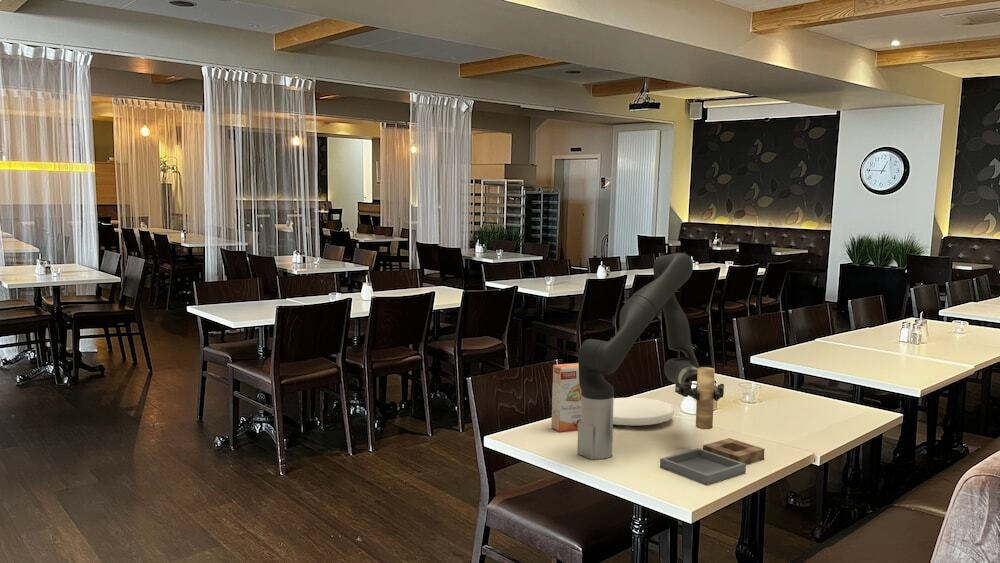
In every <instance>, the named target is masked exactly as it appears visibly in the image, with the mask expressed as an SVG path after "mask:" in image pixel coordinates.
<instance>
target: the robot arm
mask: <svg viewBox="0 0 1000 563" xmlns="http://www.w3.org/2000/svg"><path fill="white" fill-rule="evenodd" d="M652 269H653V271H652V272H653V277H654V280H652V281H651V282H649V283H647V284H646V285H644V286H643V287H641V288H639V289H638V290H637V291H635V292H634V293H633V294H632V295H631V296H630V297H629V299H628V300H627V301H626V302H625V303H624V304H623V306H622V307H621V310H620V312H619V313H620V314H619V329H618V331H617V332H616V333H615V335H614V336H613V337H612V338H611V339H610V340H608V341H606V340H600V339H596V338H595V339H593V338H589V339H586V340H584V341H583V342H582V343H581V346H580V348H579V351H578V358H577V359H578V360H577V361H578V362H577V363H578V364H579V385H580V388H581V421H580V422H578V430H577V454H578V455H580V456H581V457H584V458H588V459H590V460H603V459H608V458H610V457H612V456H613V439H614V438H613V437H614V436H613V434H614V424H613V404H614V398H615V395H614V394H615V392H614V391H615V389H614V387H613V385H612V384H611V383H610V382H608V381H607V380H606V379H605V378H604V376H603V375H611V374H613V373H615V372H616V371H617V370H618V369H619V367H620V366H621V365H622V363H623V361H624V359H625V358H626V357H627V355H628V353H629V351H630V350H631V348H632V347H633V345H634V344H635V342H636V341H637V340H638V339H639V337H640V336H641V335H642V333H643V332H644V331H645V329H646V328H647V327H648V326H649V325H650V323H652V321H653V319H654V318H655V317H656V316H657V315H658V313H659V312H660V311H661V310H662V311H663V315H664V319H665V320H664V322H665V329H666V340H667V347H668V349H669V350H671V351H676V352H682V353H683V354H684V355H685V357H679V358H678V357H677V358H676V357H675V358H669V359H668V360H667V361H666V362H665V364H664V367H663V368H664V369H663V370H664V375H665V377H666V378H667V379H668V381H669V382H671V383H674V384H675V388H674V390H675V393H676V394H678V395H680V396H682V397H684V398H687V397H690V398H692V399H694V400H695V401H697V400H700V393H699V391H697V375H698V368H699V367H700V365H699V362H698V360H697V356H696V355H695V352H694V348H693V346H692V341H691V339H692V338H691V332H690V331H691V330H690V324H689V320H688V318H687V315H686V313H685V312H684V311H683V310H684V309H683V308H682V307H681V305H680V304H679V301H678V300H677V297H676V295H675V293H676V292H678V290H679V288H681V287H682V286H683V285H684V284H685V283H686V282H687V281H688V280H689V279H690V277H691V276H692V273H693V270H694V263H693V260H692V258H691V257H690V255H688V254H687V253H684V252H674V253H670V254H665V255H660V256H658V257H657V258H655V260H654V262H653V267H652ZM724 394H725V383H720V384H717V385H714V401H715V402H716V401H717V402H718V401H719V400H720V399H721V398H724Z"/></svg>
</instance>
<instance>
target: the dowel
mask: <svg viewBox="0 0 1000 563" xmlns="http://www.w3.org/2000/svg"><path fill="white" fill-rule="evenodd" d="M715 372H716V371H715V368H713V367H708V366H707V367H706V366H699V368H698V375H697V391H699V393H700V400H696V408H695V428H696V429H701V430H712V429H713V426H714V422H713V421H714V401H715V400H714V386H715Z"/></svg>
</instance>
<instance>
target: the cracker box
mask: <svg viewBox="0 0 1000 563" xmlns="http://www.w3.org/2000/svg"><path fill="white" fill-rule="evenodd" d="M551 391H552V396H551V397H552V398H551V428H552V429H554V430H555V431H557V432H559V433H560V432H561V433H562V432H570V431H578V422H580V421H581V388H580V385H579V364H578V362H576V363H562V364H561V363H560V364H553V366H552V390H551Z"/></svg>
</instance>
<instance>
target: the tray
mask: <svg viewBox="0 0 1000 563" xmlns="http://www.w3.org/2000/svg"><path fill="white" fill-rule="evenodd" d="M659 468H660V469H663V470H666V471H668V472H671V473H674V474H676V475H678V476H682V477H684V478H687V479H689V480H692V481H695V482H698V483H701V484H703V485H705V486H709V485H712V484H715V483H719V482H722V481H725V480H728V479H730V478H731V479H732V478H733V477H737V476H740V475H743V474H746V472H747V471H746V470H747V465H746V464H745V463H742V462H739V461H736V460H733V459H730V458H727V457H724V456H721V455H718V454H715V453H712V452H709V451H706V450H703V448H699V447H697V448H694V449H690V450H686V451H682V452H680V453H676V454H672V455H668V456H665V457H662V458H659Z"/></svg>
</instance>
